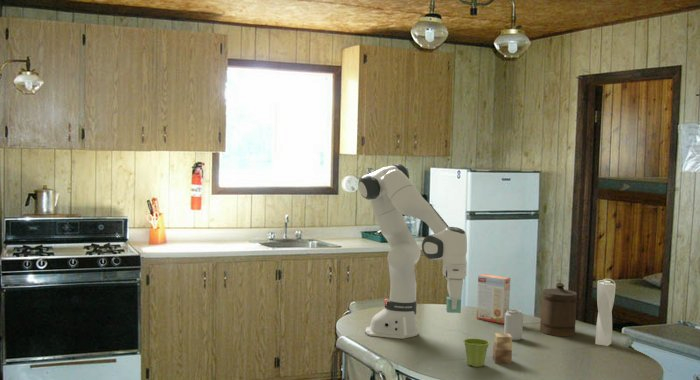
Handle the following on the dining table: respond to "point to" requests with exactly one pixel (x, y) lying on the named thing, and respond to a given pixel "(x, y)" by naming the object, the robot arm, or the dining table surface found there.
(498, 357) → the walnut base block
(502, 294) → the cracker box
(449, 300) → the teal block
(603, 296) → the skyscraper
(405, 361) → the dining table surface
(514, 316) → the can
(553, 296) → the wooden container
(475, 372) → the dining table surface
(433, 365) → the dining table surface
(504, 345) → the oak middle block
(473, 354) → the plant pot
